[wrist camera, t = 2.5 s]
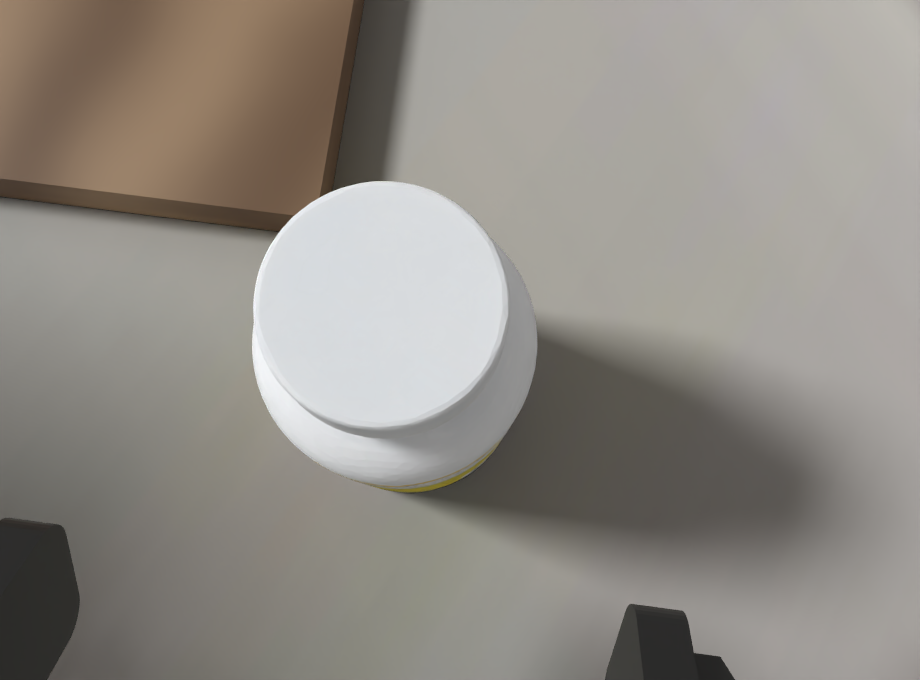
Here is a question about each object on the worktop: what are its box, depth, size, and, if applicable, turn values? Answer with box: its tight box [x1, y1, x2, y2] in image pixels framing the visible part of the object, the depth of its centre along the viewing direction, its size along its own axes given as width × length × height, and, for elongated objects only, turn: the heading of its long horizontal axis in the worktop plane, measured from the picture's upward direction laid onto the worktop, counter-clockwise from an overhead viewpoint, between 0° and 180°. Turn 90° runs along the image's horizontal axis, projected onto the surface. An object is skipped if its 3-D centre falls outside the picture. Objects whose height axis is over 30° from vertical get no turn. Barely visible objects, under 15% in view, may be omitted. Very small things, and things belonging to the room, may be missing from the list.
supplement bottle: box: [252, 181, 537, 493], centre depth 18 cm, size 5×5×10 cm
